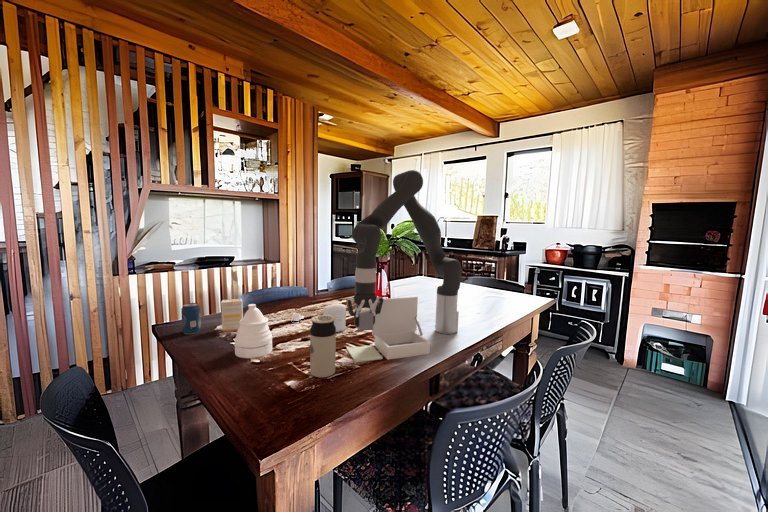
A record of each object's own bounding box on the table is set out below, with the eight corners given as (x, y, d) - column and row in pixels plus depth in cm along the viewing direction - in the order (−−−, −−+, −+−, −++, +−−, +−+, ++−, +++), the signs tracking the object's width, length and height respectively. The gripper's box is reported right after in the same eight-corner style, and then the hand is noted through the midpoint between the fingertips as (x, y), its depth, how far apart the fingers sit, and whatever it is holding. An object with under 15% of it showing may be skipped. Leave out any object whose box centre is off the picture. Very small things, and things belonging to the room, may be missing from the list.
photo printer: (342, 328, 150) (343, 301, 149) (347, 330, 147) (347, 303, 146) (321, 331, 145) (321, 304, 144) (325, 334, 141) (325, 306, 140)
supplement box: (243, 326, 149) (242, 298, 147) (242, 330, 144) (241, 301, 143) (223, 328, 146) (222, 299, 145) (221, 331, 141) (220, 302, 140)
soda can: (180, 331, 141) (179, 304, 139) (199, 328, 145) (198, 301, 144) (184, 336, 135) (182, 307, 134) (202, 332, 140) (201, 304, 139)
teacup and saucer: (301, 318, 165) (301, 310, 165) (309, 322, 159) (309, 313, 159) (284, 321, 159) (284, 313, 159) (292, 325, 153) (292, 317, 153)
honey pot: (269, 357, 117) (268, 307, 115) (230, 359, 115) (229, 308, 113) (274, 343, 129) (274, 299, 128) (240, 345, 127) (239, 299, 125)
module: (368, 325, 124) (369, 310, 123) (373, 329, 119) (373, 313, 119) (356, 326, 122) (356, 310, 121) (359, 331, 117) (360, 314, 117)
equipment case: (415, 340, 137) (416, 296, 135) (432, 353, 124) (434, 305, 122) (371, 345, 131) (372, 299, 129) (384, 359, 117) (386, 309, 115)
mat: (371, 346, 129) (371, 345, 129) (382, 358, 118) (382, 357, 118) (346, 349, 125) (346, 348, 125) (355, 362, 114) (355, 360, 114)
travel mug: (335, 366, 111) (335, 314, 109) (335, 377, 103) (336, 321, 101) (310, 367, 110) (310, 314, 108) (309, 379, 102) (309, 322, 100)
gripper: (380, 277, 125) (379, 321, 127) (343, 278, 120) (342, 324, 121) (387, 281, 118) (386, 327, 120) (348, 282, 113) (347, 331, 115)
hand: (364, 325), depth 121 cm, fingers closed on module, 5 cm apart
